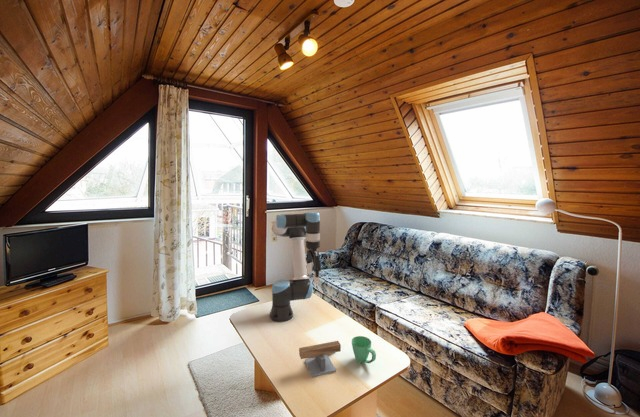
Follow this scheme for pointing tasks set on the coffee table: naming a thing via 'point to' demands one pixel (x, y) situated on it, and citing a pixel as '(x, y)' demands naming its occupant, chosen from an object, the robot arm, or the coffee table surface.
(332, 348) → the plank
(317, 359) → the fulcrum
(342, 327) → the coffee table surface
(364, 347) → the mug
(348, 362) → the coffee table surface
